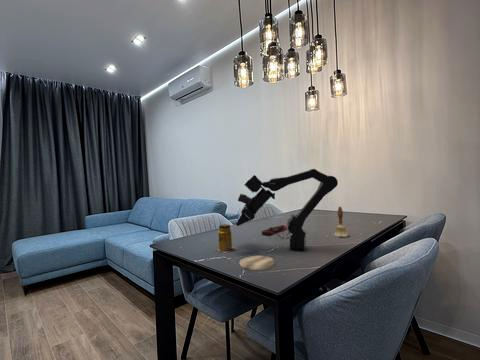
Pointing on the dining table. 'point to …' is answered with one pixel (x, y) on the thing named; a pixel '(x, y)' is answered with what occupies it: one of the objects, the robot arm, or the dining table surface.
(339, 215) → the hand bell
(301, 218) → the robot arm
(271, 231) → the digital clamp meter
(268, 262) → the beige round plate
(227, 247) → the condiment
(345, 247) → the dining table surface
